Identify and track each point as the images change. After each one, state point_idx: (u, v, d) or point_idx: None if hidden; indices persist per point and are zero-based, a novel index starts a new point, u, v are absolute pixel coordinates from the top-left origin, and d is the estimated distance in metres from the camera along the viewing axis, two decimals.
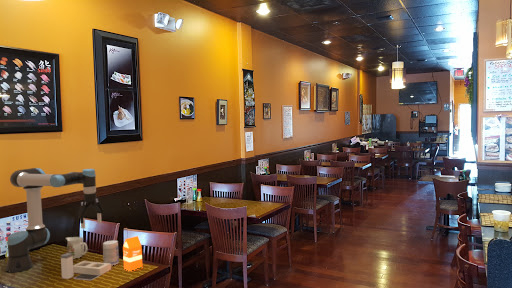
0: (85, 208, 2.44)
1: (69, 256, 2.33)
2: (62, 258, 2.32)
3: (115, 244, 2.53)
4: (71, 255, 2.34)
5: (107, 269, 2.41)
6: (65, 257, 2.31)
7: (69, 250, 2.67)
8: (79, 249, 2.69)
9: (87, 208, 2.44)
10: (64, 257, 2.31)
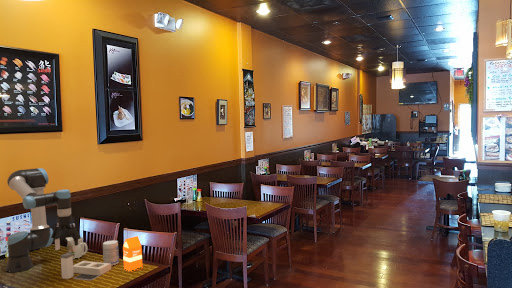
0: None
1: (69, 256, 2.33)
2: (62, 258, 2.32)
3: (115, 244, 2.53)
4: (71, 255, 2.34)
5: (107, 269, 2.41)
6: (65, 257, 2.31)
7: (69, 250, 2.67)
8: (79, 249, 2.69)
9: (58, 230, 2.33)
10: (64, 257, 2.31)
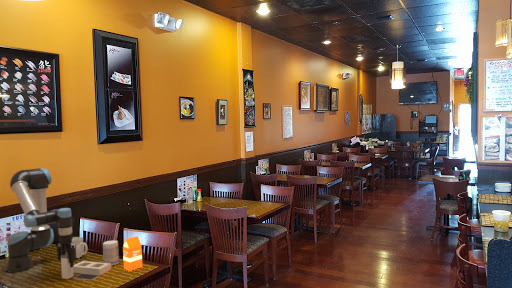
0: None
1: None
2: (62, 258, 2.32)
3: (115, 244, 2.53)
4: None
5: (107, 269, 2.41)
6: (65, 257, 2.31)
7: None
8: (79, 249, 2.69)
9: (61, 250, 2.33)
10: (64, 257, 2.31)
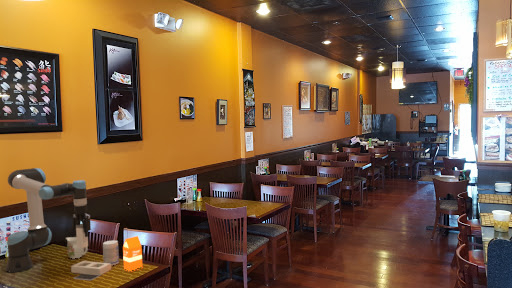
0: None
1: None
2: (77, 228, 2.41)
3: (115, 244, 2.53)
4: None
5: (107, 269, 2.41)
6: (80, 227, 2.41)
7: (69, 250, 2.67)
8: (79, 249, 2.69)
9: (76, 221, 2.43)
10: (79, 227, 2.41)
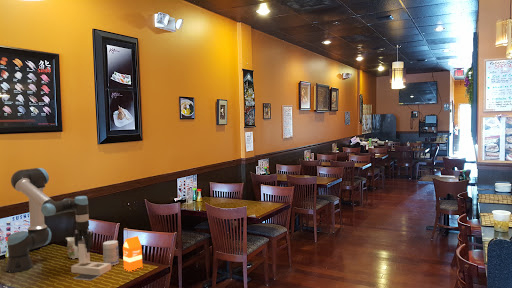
0: None
1: None
2: (79, 243, 2.43)
3: (115, 244, 2.53)
4: None
5: (107, 269, 2.41)
6: (82, 243, 2.42)
7: (69, 250, 2.67)
8: None
9: (78, 237, 2.44)
10: (82, 243, 2.42)
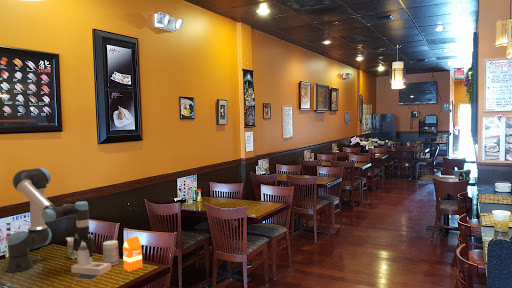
0: None
1: (86, 248, 2.44)
2: (79, 250, 2.43)
3: (115, 244, 2.53)
4: None
5: (107, 269, 2.41)
6: (82, 249, 2.42)
7: (69, 250, 2.67)
8: None
9: (78, 241, 2.44)
10: (82, 249, 2.42)
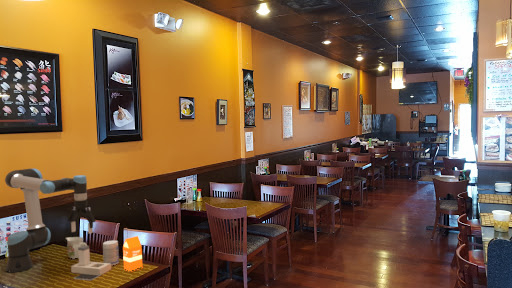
0: None
1: (86, 248, 2.44)
2: (79, 250, 2.43)
3: (115, 244, 2.53)
4: (88, 247, 2.45)
5: (107, 269, 2.41)
6: (82, 249, 2.42)
7: (69, 250, 2.67)
8: None
9: (75, 214, 2.47)
10: (82, 249, 2.42)
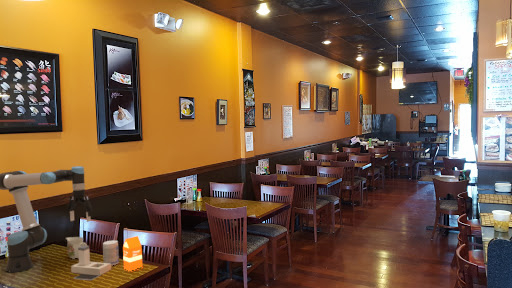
0: None
1: (86, 248, 2.44)
2: (79, 250, 2.43)
3: (115, 244, 2.53)
4: (88, 247, 2.45)
5: (107, 269, 2.41)
6: (82, 249, 2.42)
7: (69, 250, 2.67)
8: None
9: (73, 203, 2.58)
10: (82, 249, 2.42)
